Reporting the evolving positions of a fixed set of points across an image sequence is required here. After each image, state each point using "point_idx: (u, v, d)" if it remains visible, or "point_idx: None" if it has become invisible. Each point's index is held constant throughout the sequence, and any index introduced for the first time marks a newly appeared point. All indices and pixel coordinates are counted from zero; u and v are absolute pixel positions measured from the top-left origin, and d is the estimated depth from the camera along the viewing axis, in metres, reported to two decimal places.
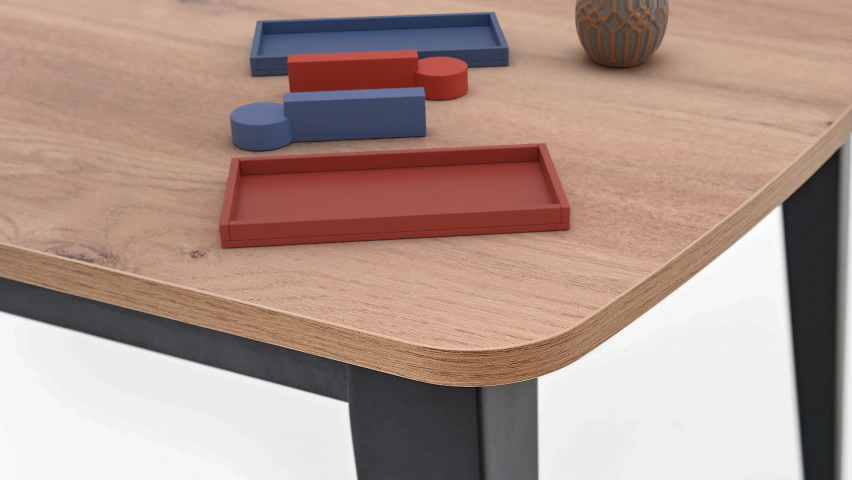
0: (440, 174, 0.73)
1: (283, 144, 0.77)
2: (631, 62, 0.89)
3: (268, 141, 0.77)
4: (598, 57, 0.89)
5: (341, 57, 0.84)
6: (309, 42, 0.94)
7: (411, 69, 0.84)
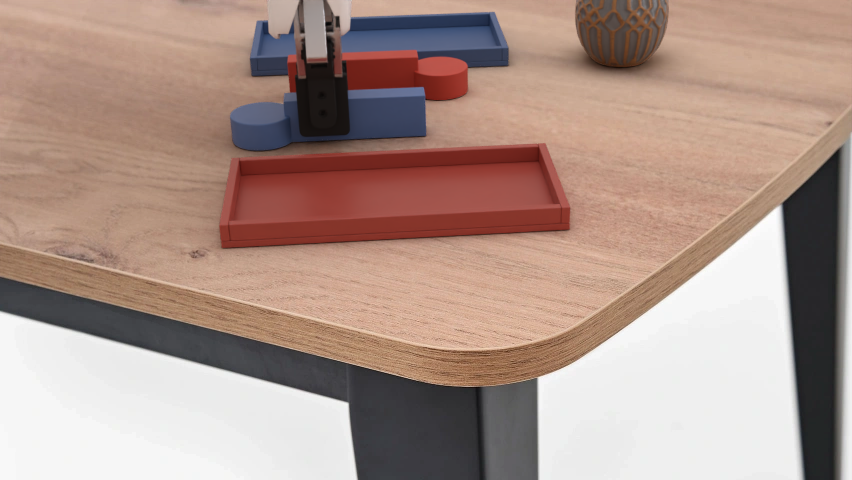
0: (440, 174, 0.73)
1: (283, 144, 0.77)
2: (631, 62, 0.89)
3: (268, 141, 0.77)
4: (598, 57, 0.89)
5: None
6: None
7: (411, 69, 0.84)
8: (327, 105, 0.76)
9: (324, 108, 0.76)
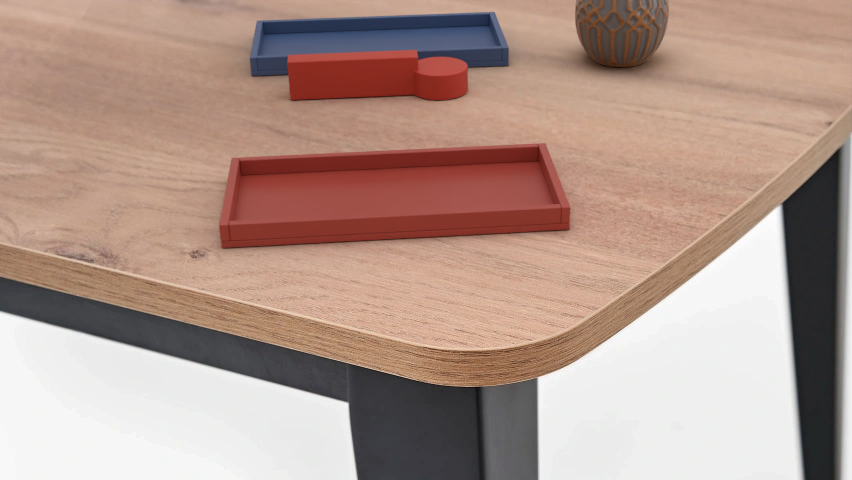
0: (440, 174, 0.73)
1: None
2: (631, 62, 0.89)
3: None
4: (598, 57, 0.89)
5: (341, 57, 0.84)
6: (309, 42, 0.94)
7: (411, 69, 0.84)
8: None
9: None
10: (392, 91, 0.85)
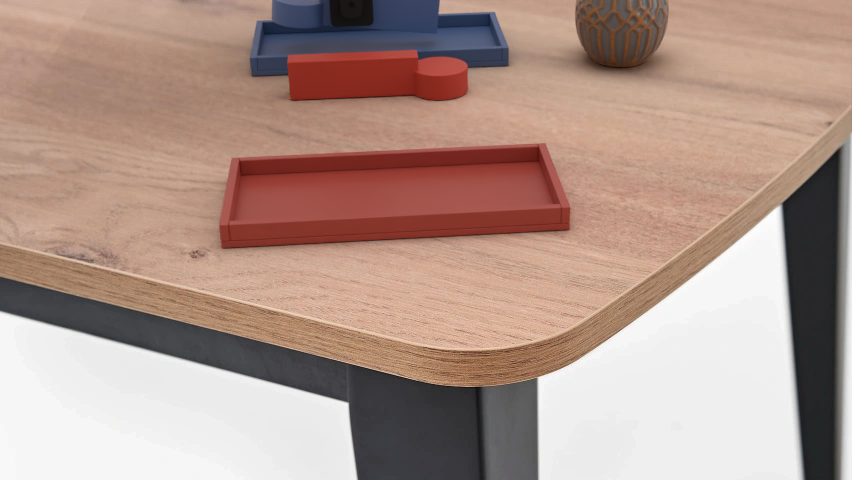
0: (440, 174, 0.73)
1: (315, 25, 0.91)
2: (631, 62, 0.89)
3: (304, 21, 0.90)
4: (598, 57, 0.89)
5: (341, 57, 0.84)
6: (309, 42, 0.94)
7: (411, 69, 0.84)
8: None
9: (352, 0, 0.89)
10: (392, 91, 0.85)
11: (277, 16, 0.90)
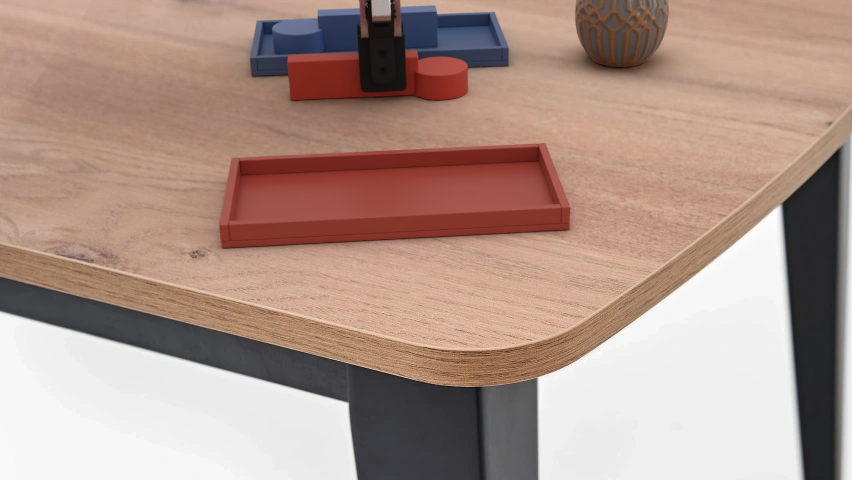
0: (440, 174, 0.73)
1: (317, 52, 0.92)
2: (631, 62, 0.89)
3: (305, 49, 0.91)
4: (598, 57, 0.89)
5: (341, 57, 0.84)
6: None
7: (411, 69, 0.84)
8: (387, 62, 0.82)
9: (384, 65, 0.83)
10: (392, 91, 0.85)
11: (279, 47, 0.91)
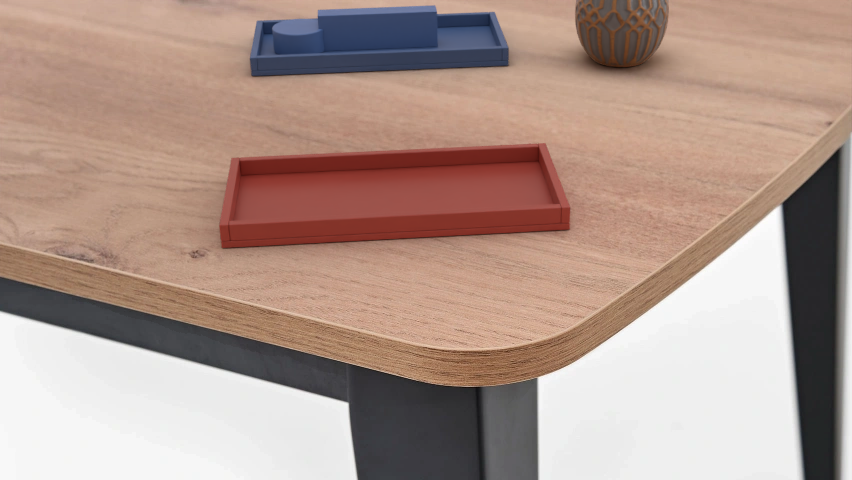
0: (440, 174, 0.73)
1: (317, 52, 0.92)
2: (631, 62, 0.89)
3: (305, 49, 0.91)
4: (598, 57, 0.89)
5: None
6: None
7: None
8: None
9: None
10: None
11: (279, 47, 0.91)
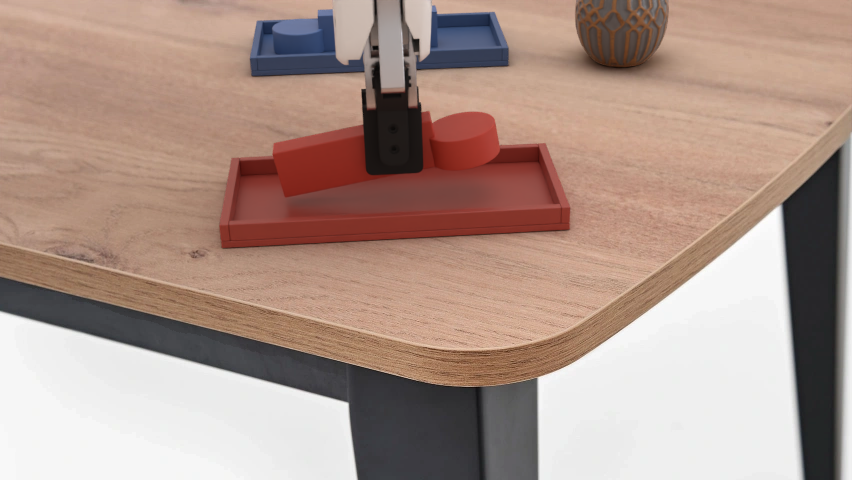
0: (440, 174, 0.73)
1: (317, 52, 0.92)
2: (631, 62, 0.89)
3: (305, 49, 0.91)
4: (598, 57, 0.89)
5: (337, 136, 0.67)
6: None
7: (425, 137, 0.67)
8: (399, 139, 0.66)
9: (395, 143, 0.66)
10: None
11: (279, 47, 0.91)
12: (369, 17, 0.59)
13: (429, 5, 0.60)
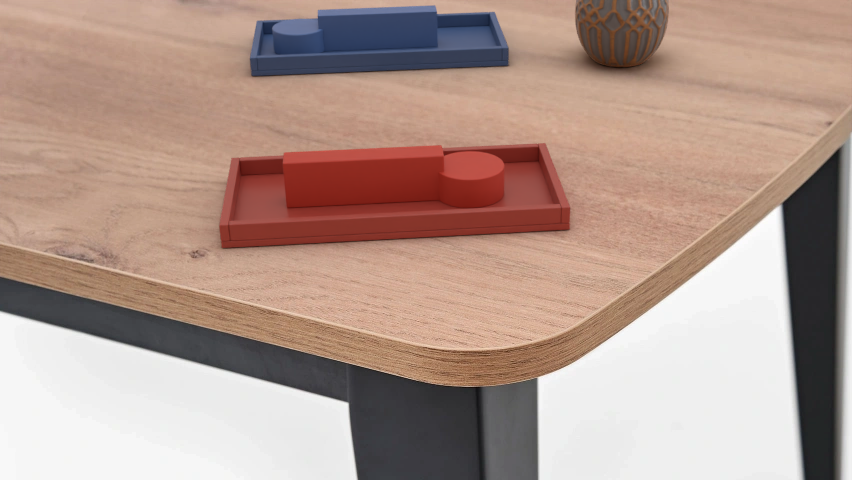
0: None
1: (317, 52, 0.92)
2: (631, 62, 0.89)
3: (305, 49, 0.91)
4: (598, 57, 0.89)
5: (349, 156, 0.68)
6: None
7: (435, 170, 0.68)
8: None
9: None
10: (412, 196, 0.69)
11: (279, 47, 0.91)
12: None
13: None
